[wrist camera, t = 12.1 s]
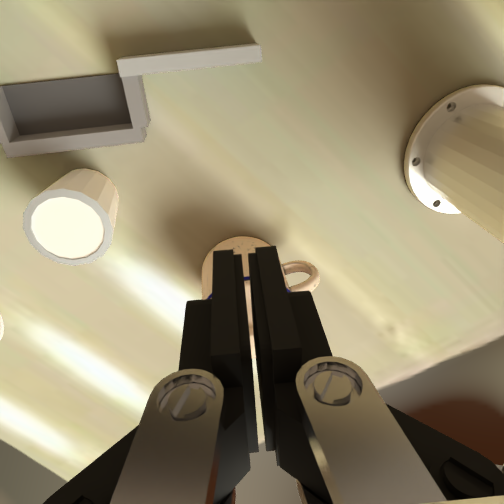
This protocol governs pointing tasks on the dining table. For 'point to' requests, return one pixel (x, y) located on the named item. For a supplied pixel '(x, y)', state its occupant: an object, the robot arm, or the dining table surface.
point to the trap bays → (72, 114)
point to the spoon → (1, 327)
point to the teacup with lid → (244, 247)
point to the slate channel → (189, 59)
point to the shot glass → (73, 218)
